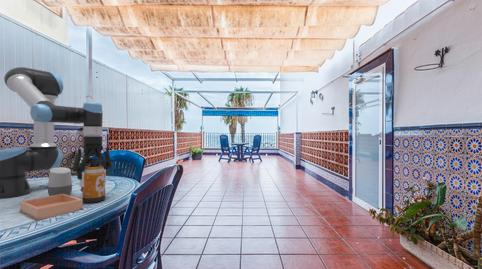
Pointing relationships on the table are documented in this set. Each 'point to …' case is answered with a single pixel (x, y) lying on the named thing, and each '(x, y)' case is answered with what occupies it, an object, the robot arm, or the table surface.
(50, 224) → the table surface
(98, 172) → the canister
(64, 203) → the tray
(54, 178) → the smart speaker
